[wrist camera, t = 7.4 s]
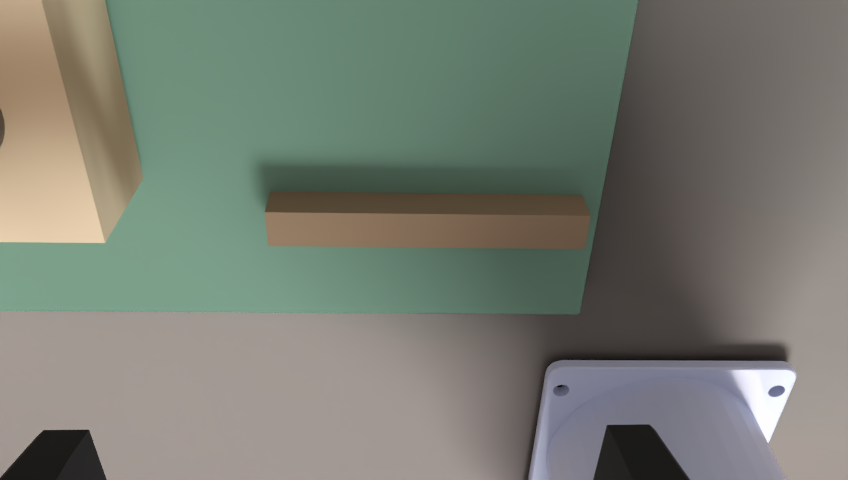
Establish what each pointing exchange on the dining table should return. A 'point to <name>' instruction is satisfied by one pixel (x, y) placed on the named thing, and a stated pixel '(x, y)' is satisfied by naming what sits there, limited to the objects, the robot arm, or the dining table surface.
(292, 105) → the pitch
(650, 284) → the dining table surface
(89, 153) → the beige block
